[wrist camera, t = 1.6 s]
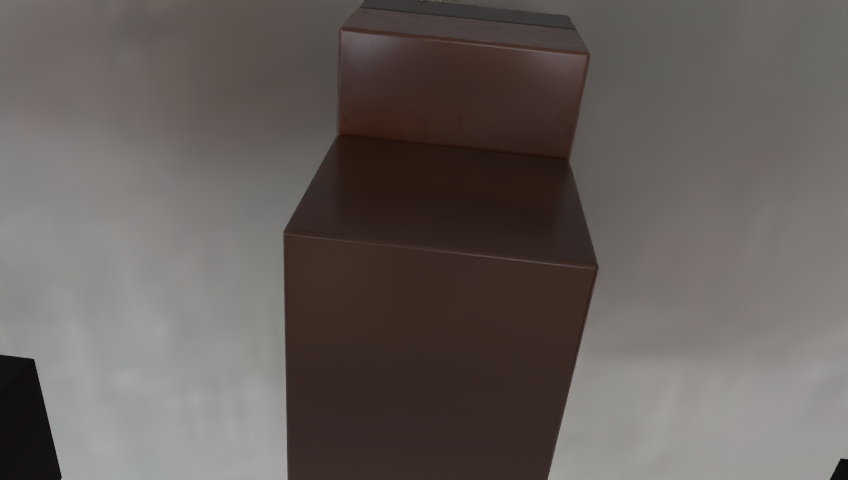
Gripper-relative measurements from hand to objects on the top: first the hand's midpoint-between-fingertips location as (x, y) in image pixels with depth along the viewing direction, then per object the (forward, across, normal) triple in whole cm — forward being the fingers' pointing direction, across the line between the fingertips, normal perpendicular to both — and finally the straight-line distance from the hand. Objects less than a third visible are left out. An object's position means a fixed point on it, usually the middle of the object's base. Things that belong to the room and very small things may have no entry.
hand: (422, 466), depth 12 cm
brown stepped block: (+8, 0, 0) cm, 8 cm away
